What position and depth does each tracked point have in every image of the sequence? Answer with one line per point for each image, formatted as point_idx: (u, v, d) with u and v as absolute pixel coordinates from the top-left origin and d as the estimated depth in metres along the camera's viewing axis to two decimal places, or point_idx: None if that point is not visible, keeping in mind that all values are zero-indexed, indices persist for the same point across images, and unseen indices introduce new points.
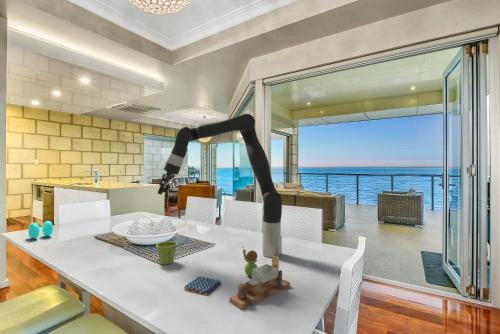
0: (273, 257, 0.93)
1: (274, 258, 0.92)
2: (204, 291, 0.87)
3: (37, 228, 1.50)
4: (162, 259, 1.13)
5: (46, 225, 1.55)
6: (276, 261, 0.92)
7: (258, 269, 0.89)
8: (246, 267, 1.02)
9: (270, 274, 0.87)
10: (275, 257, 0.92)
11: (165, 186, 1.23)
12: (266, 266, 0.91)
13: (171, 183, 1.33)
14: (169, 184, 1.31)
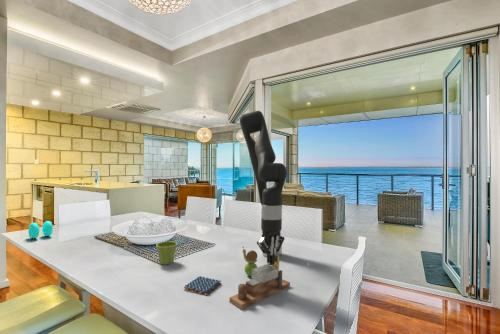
0: None
1: None
2: (204, 291, 0.87)
3: (37, 228, 1.50)
4: (162, 259, 1.13)
5: (46, 225, 1.55)
6: (276, 261, 0.92)
7: (258, 269, 0.89)
8: (246, 267, 1.02)
9: (270, 274, 0.87)
10: (276, 257, 0.92)
11: (269, 250, 0.93)
12: (266, 266, 0.91)
13: None
14: (268, 248, 0.92)
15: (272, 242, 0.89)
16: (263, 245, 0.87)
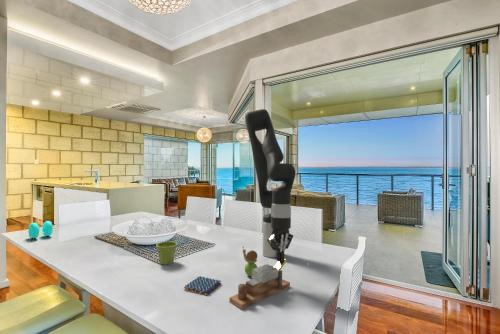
0: None
1: None
2: (204, 291, 0.87)
3: (37, 228, 1.50)
4: (162, 259, 1.13)
5: (46, 225, 1.55)
6: (282, 263, 0.94)
7: (258, 269, 0.89)
8: (246, 267, 1.02)
9: (270, 274, 0.87)
10: None
11: None
12: (266, 266, 0.91)
13: None
14: (278, 246, 0.95)
15: (282, 239, 0.93)
16: (273, 242, 0.90)
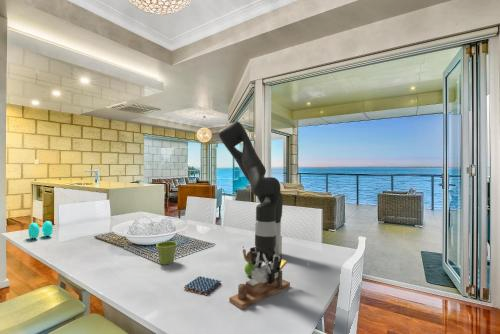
0: (281, 260, 0.96)
1: (282, 261, 0.96)
2: (204, 291, 0.87)
3: (37, 228, 1.50)
4: (162, 259, 1.13)
5: (46, 225, 1.55)
6: (282, 263, 0.94)
7: (258, 269, 0.89)
8: (246, 267, 1.02)
9: None
10: (284, 261, 0.95)
11: (255, 265, 0.91)
12: None
13: (272, 269, 0.85)
14: (268, 268, 0.86)
15: None
16: None
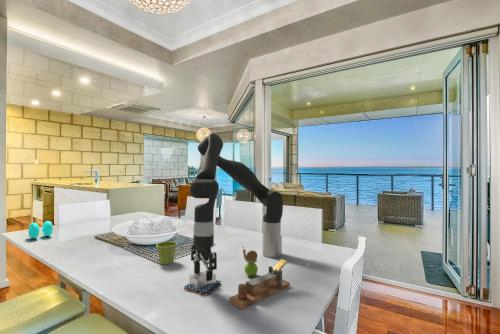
0: (281, 260, 0.96)
1: (282, 261, 0.96)
2: (204, 292, 0.87)
3: (37, 228, 1.50)
4: (162, 259, 1.13)
5: (46, 225, 1.55)
6: (282, 263, 0.94)
7: (196, 275, 0.92)
8: (246, 267, 1.02)
9: None
10: (284, 261, 0.95)
11: (193, 261, 0.95)
12: (205, 272, 0.95)
13: (209, 267, 0.87)
14: (206, 266, 0.89)
15: None
16: None
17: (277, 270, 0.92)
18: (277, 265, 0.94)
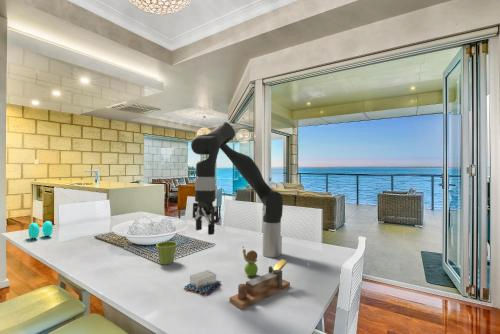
0: (281, 260, 0.96)
1: (282, 261, 0.96)
2: (204, 292, 0.87)
3: (37, 228, 1.50)
4: (162, 259, 1.13)
5: (46, 225, 1.55)
6: (282, 263, 0.94)
7: (196, 275, 0.92)
8: (246, 267, 1.02)
9: (206, 280, 0.91)
10: (284, 261, 0.95)
11: (195, 218, 0.96)
12: (206, 272, 0.95)
13: (211, 220, 0.88)
14: (208, 220, 0.90)
15: None
16: None
17: (277, 270, 0.92)
18: (277, 265, 0.94)
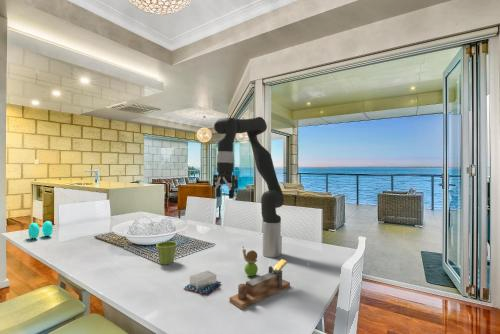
0: (281, 260, 0.96)
1: (282, 261, 0.96)
2: (204, 292, 0.87)
3: (37, 228, 1.50)
4: (162, 259, 1.13)
5: (46, 225, 1.55)
6: (282, 263, 0.94)
7: (196, 275, 0.92)
8: (246, 267, 1.02)
9: (207, 280, 0.90)
10: (284, 261, 0.95)
11: (215, 187, 1.15)
12: (206, 272, 0.95)
13: (232, 186, 1.08)
14: None
15: None
16: None
17: (277, 270, 0.92)
18: (277, 265, 0.94)
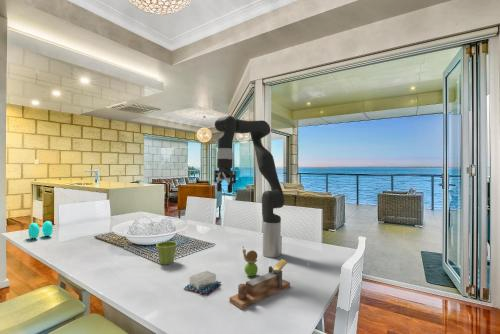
0: (281, 260, 0.96)
1: (282, 261, 0.96)
2: (204, 292, 0.87)
3: (37, 228, 1.50)
4: (162, 259, 1.13)
5: (46, 225, 1.55)
6: (282, 263, 0.94)
7: (196, 276, 0.92)
8: (246, 267, 1.02)
9: (207, 280, 0.91)
10: (284, 261, 0.95)
11: (216, 182, 1.22)
12: (205, 273, 0.95)
13: (230, 181, 1.14)
14: None
15: None
16: None
17: (277, 270, 0.92)
18: (277, 265, 0.94)
